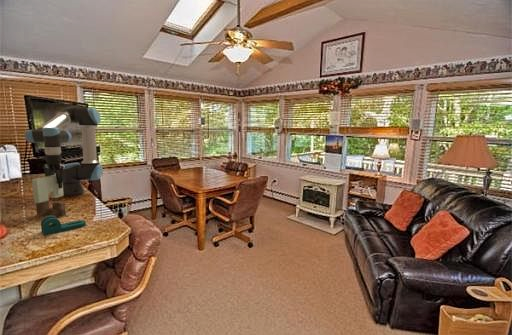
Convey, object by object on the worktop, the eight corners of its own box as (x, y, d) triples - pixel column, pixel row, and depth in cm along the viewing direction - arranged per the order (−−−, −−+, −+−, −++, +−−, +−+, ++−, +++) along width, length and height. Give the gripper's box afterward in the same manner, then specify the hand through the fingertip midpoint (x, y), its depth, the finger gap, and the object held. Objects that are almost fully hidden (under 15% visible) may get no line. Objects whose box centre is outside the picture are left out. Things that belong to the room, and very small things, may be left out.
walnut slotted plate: (37, 214, 153) (35, 201, 152) (41, 213, 155) (39, 200, 154) (62, 216, 151) (60, 203, 150) (65, 215, 154) (64, 202, 152)
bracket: (44, 236, 126) (42, 220, 124) (41, 232, 130) (40, 217, 129) (87, 226, 139) (86, 212, 137) (83, 223, 143) (82, 209, 142)
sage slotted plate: (39, 202, 144) (36, 179, 142) (34, 202, 144) (31, 179, 142) (63, 195, 159) (61, 174, 157) (59, 195, 160) (57, 174, 158)
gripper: (34, 154, 150) (38, 194, 153) (60, 155, 148) (63, 195, 152) (46, 153, 157) (50, 191, 161) (71, 154, 155) (74, 192, 159)
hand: (56, 193), depth 156 cm, fingers closed on sage slotted plate, 3 cm apart
